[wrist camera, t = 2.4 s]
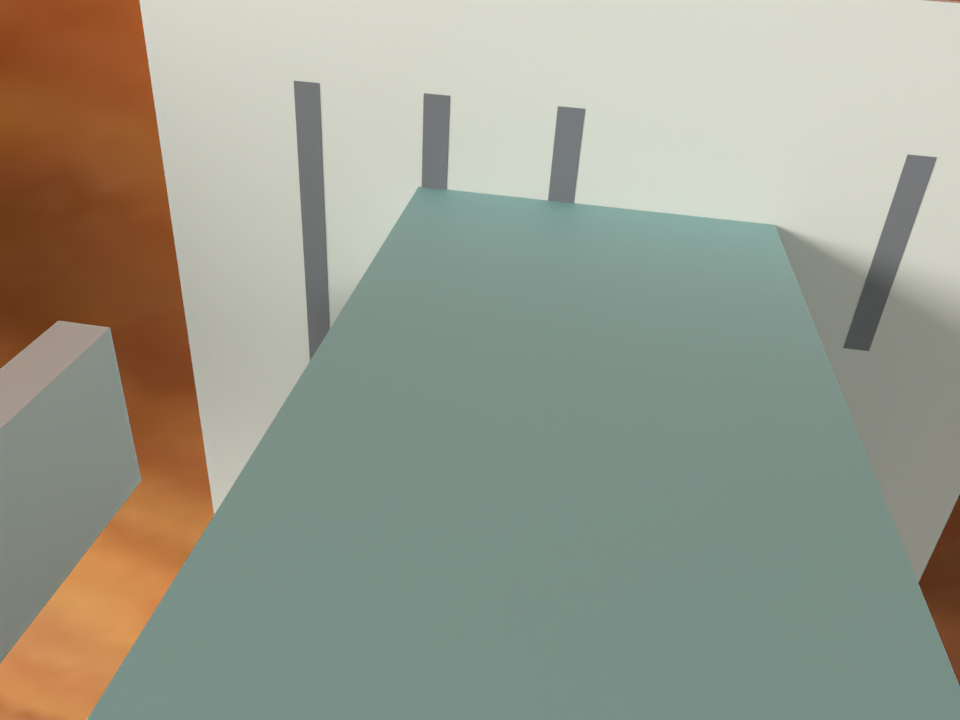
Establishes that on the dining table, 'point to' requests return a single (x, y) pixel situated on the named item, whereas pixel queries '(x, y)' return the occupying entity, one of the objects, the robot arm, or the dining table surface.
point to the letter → (572, 175)
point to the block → (552, 498)
